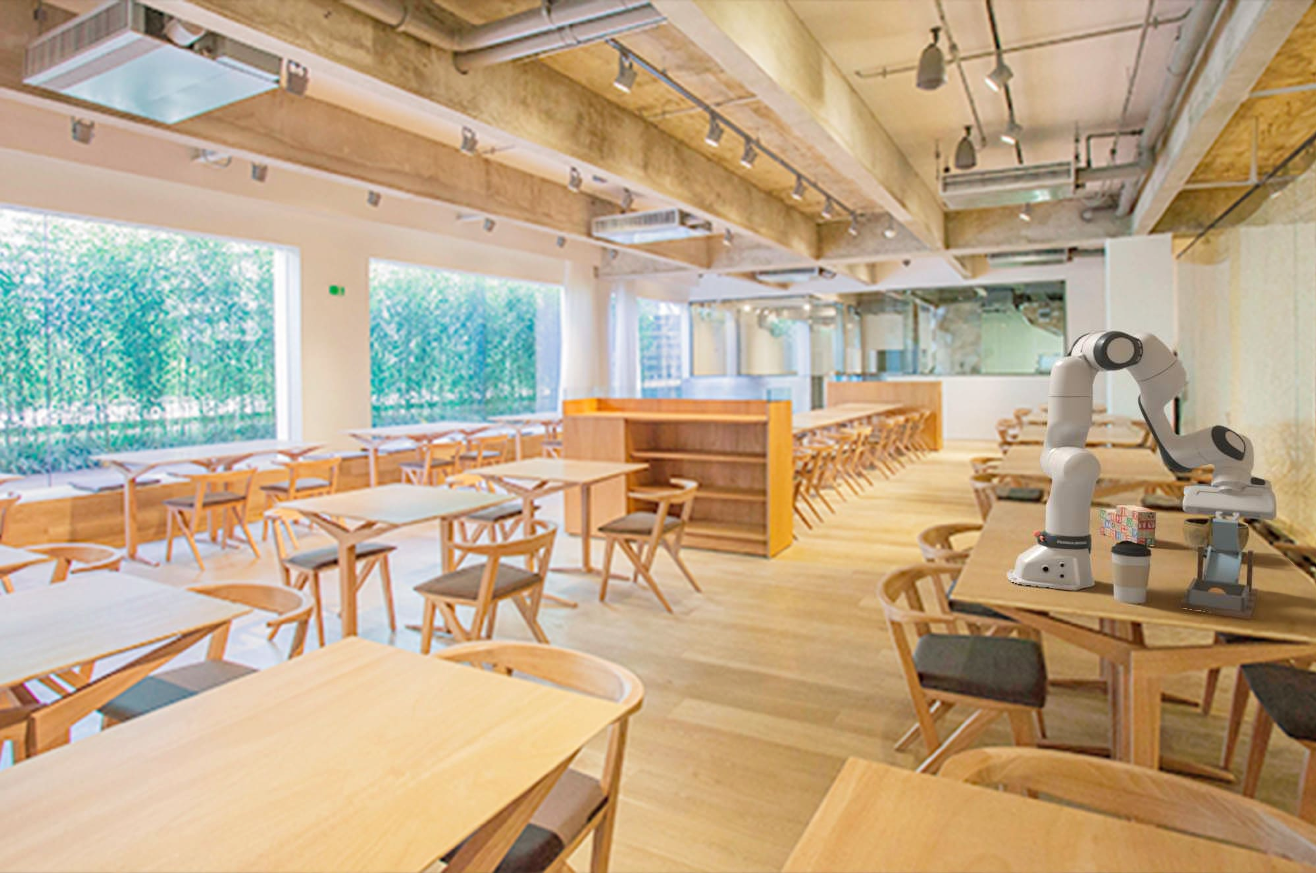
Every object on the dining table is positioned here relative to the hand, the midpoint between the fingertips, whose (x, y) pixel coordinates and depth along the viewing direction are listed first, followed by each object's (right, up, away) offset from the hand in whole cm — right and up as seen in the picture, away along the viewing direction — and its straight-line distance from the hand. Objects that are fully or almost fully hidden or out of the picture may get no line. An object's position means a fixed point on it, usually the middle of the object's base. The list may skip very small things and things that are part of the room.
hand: (1226, 527), depth 201 cm
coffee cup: (-27, -19, -2) cm, 33 cm away
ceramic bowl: (+28, -14, +42) cm, 52 cm away
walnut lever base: (-5, -19, -5) cm, 20 cm away
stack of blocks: (+15, -13, +67) cm, 70 cm away
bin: (-9, -17, -9) cm, 22 cm away
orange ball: (-11, -16, -12) cm, 23 cm away
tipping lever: (+2, -13, +3) cm, 14 cm away
